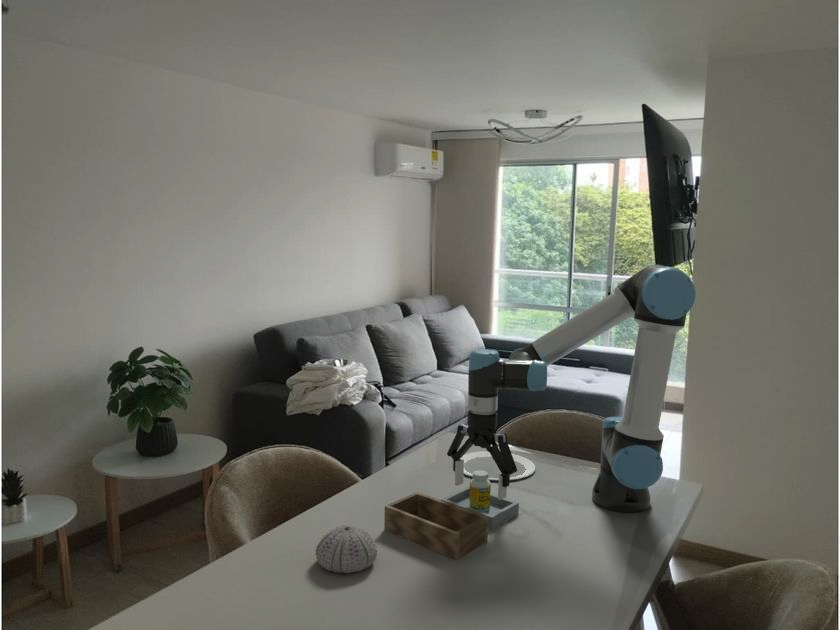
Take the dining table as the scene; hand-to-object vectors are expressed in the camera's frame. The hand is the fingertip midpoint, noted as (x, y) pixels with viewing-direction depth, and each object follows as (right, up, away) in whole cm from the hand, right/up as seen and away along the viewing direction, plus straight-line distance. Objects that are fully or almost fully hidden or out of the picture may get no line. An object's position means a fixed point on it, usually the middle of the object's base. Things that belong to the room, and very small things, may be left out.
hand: (480, 491), depth 174 cm
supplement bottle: (0, -5, +1) cm, 5 cm away
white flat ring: (+7, -2, +34) cm, 35 cm away
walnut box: (-12, -7, -13) cm, 19 cm away
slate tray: (0, -6, +1) cm, 6 cm away
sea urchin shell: (-31, -9, -26) cm, 42 cm away
